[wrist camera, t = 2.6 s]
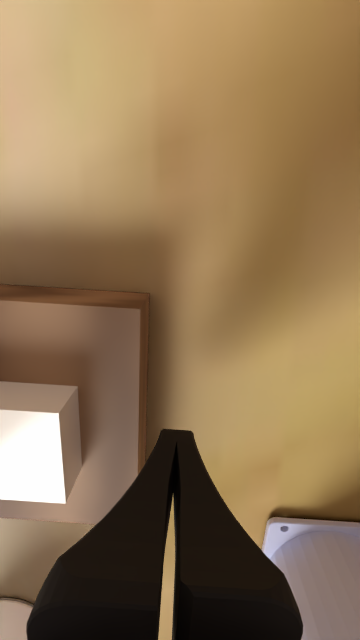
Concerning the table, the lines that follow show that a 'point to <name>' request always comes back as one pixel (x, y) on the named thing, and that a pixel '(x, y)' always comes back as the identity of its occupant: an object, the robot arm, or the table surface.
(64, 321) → the brown board
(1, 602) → the can
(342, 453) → the table surface
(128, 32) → the table surface
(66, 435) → the tile
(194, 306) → the table surface
